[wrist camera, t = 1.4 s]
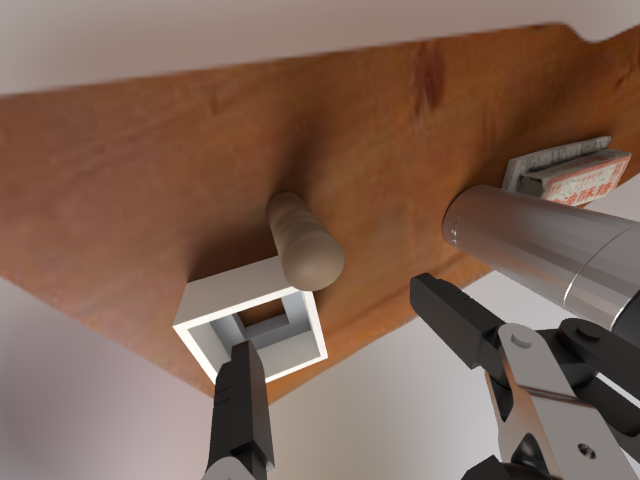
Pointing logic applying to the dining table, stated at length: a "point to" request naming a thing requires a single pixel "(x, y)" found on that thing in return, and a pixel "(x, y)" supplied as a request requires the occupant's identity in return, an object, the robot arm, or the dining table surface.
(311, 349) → the open box
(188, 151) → the dining table surface
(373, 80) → the dining table surface
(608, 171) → the packaged product
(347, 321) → the dining table surface
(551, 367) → the robot arm
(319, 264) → the peg
